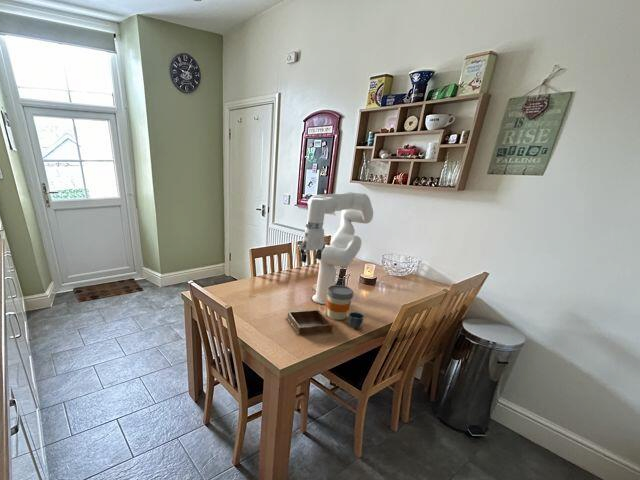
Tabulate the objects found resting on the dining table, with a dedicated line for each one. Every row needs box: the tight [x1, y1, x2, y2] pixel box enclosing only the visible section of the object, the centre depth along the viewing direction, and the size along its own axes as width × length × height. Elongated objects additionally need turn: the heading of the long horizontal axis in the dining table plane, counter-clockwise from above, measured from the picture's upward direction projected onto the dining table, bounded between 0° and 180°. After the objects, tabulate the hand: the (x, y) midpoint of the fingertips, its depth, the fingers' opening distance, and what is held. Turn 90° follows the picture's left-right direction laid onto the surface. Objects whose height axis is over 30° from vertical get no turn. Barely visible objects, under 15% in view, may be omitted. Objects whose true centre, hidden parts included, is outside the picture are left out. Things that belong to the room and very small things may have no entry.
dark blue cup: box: [347, 311, 365, 330], centre depth 159 cm, size 7×7×6 cm
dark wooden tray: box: [287, 309, 333, 335], centre depth 159 cm, size 16×16×4 cm
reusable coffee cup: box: [326, 284, 354, 321], centre depth 166 cm, size 13×13×15 cm
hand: (310, 260), depth 162 cm, fingers open, 9 cm apart
